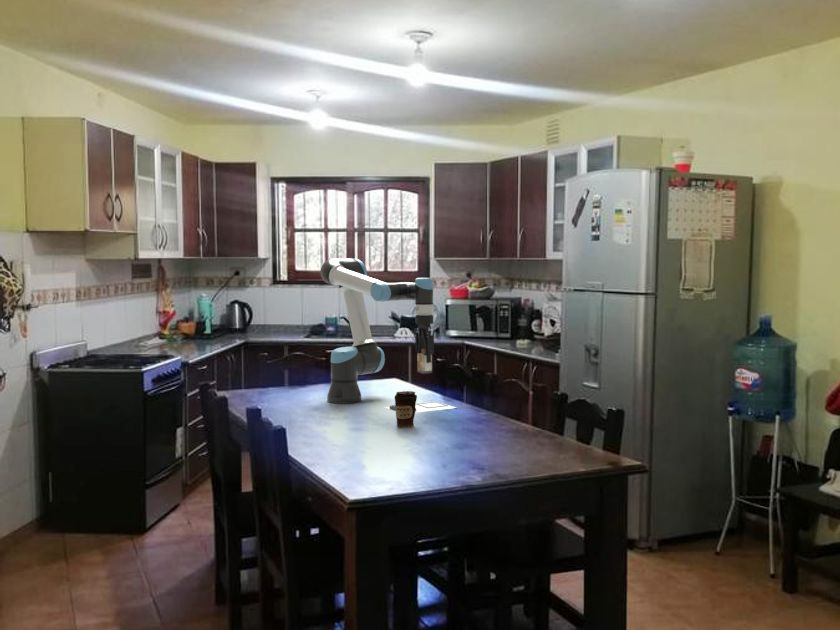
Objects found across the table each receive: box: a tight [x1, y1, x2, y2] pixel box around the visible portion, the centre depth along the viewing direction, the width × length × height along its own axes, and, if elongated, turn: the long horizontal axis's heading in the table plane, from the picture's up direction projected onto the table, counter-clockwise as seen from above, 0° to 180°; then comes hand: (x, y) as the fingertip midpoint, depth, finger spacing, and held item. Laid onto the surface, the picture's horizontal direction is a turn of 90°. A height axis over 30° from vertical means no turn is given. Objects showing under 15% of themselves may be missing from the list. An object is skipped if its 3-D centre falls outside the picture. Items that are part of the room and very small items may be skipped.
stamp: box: [416, 348, 433, 375], centre depth 322 cm, size 4×4×10 cm
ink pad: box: [389, 404, 416, 412], centre depth 316 cm, size 10×7×2 cm
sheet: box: [383, 400, 457, 414], centre depth 322 cm, size 17×26×1 cm, turn 121°
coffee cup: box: [394, 390, 418, 428], centre depth 286 cm, size 9×8×13 cm
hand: (424, 369), depth 322 cm, fingers closed on stamp, 4 cm apart
